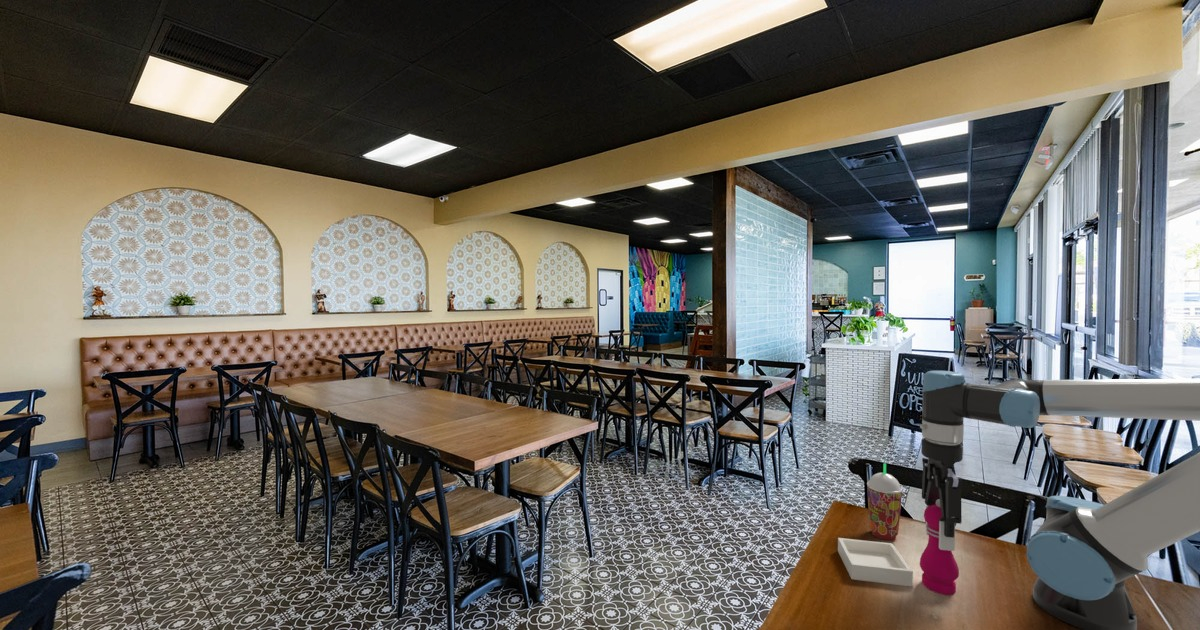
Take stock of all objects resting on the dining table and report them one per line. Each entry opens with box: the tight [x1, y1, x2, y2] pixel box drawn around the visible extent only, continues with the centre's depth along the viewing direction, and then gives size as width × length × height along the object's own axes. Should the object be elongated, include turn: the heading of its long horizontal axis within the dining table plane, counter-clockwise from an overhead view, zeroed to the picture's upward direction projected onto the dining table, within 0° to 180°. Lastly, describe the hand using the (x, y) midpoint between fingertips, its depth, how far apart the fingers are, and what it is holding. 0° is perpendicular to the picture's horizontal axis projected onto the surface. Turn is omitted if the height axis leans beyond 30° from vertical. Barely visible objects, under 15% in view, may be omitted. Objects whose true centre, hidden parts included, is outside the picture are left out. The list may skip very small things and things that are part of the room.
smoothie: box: [866, 462, 904, 541], centre depth 130 cm, size 8×8×20 cm
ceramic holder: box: [837, 537, 914, 588], centre depth 115 cm, size 13×13×4 cm
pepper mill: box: [919, 499, 960, 596], centre depth 107 cm, size 7×7×20 cm
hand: (939, 541), depth 107 cm, fingers closed on pepper mill, 6 cm apart
